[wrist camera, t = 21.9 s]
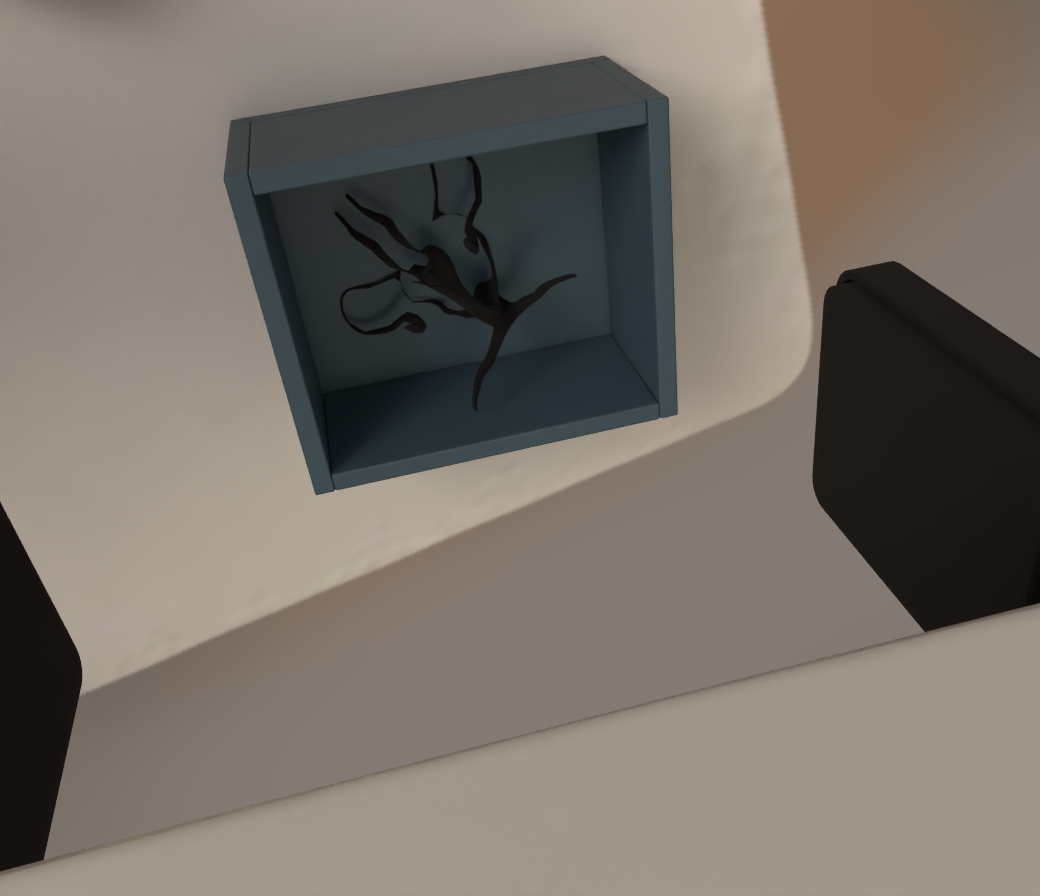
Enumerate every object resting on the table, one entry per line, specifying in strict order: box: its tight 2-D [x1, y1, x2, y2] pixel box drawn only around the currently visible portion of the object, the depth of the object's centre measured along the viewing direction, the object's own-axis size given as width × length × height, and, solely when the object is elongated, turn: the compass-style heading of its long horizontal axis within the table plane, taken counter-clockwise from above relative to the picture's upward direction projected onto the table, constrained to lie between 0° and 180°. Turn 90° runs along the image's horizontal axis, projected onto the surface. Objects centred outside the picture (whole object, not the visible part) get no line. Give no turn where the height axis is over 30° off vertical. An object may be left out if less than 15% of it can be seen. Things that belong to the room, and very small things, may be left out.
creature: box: [334, 156, 577, 411], centre depth 34 cm, size 8×5×8 cm
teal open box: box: [224, 56, 678, 495], centre depth 34 cm, size 13×11×7 cm
